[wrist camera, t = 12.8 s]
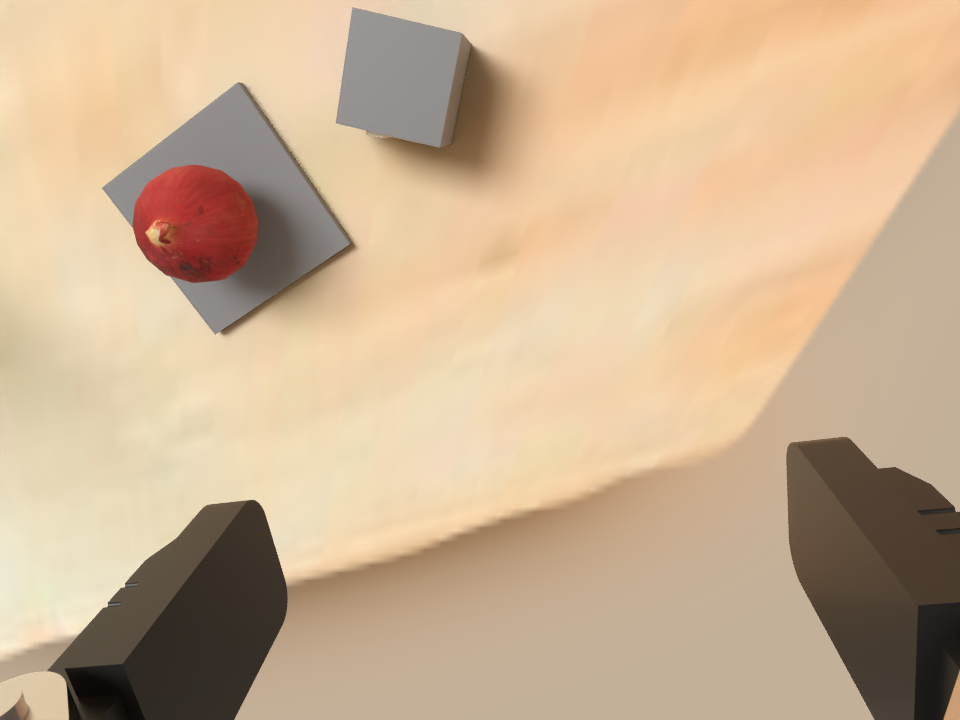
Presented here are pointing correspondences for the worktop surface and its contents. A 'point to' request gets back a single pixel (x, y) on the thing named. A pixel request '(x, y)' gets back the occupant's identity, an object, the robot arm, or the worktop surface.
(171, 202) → the onion
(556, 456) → the worktop surface
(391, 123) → the marked cube
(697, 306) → the worktop surface
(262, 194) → the mat
